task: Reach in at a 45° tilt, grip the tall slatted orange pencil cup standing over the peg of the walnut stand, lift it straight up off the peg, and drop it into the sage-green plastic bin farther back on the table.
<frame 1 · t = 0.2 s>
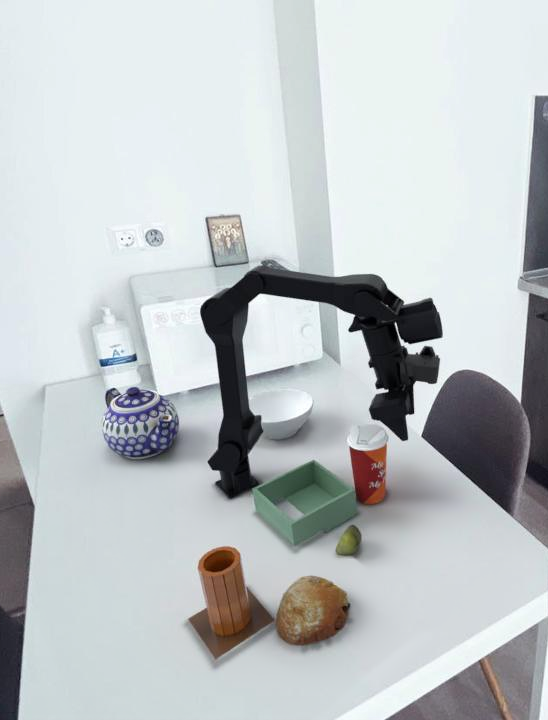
hand: (408, 426, 98), 15 cm above the table, tool pointing down, fingers open, 9 cm apart
bread roll: (314, 620, 79), on the table
stand: (232, 624, 78), on the table
teapot: (147, 447, 121), on the table
slatted orange pencil cup: (231, 619, 78), point 1 cm above the table, touching stand
paper cup: (370, 495, 105), on the table
lime: (349, 551, 91), on the table
bowl: (281, 431, 127), on the table
bin: (306, 513, 100), on the table
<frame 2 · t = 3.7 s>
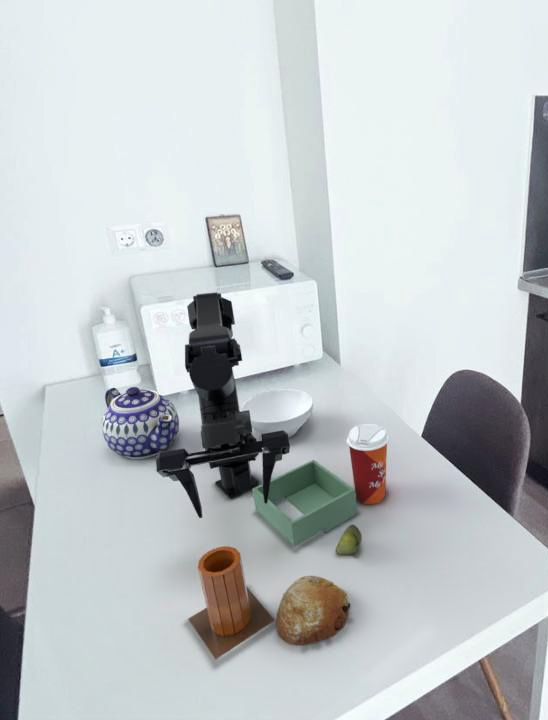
hand: (233, 510, 80), 14 cm above the table, tool tilted 45°, fingers open, 9 cm apart
nothing on the table moved.
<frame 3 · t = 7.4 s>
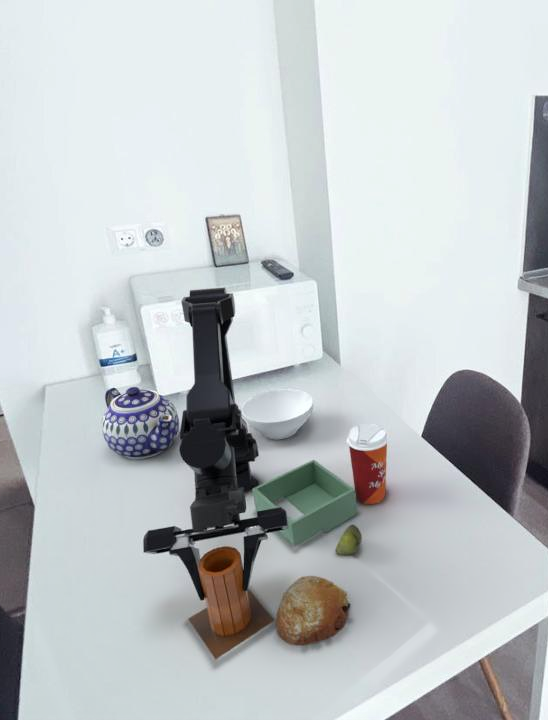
hand: (224, 595, 74), 7 cm above the table, tool tilted 45°, fingers closed on slatted orange pencil cup, 5 cm apart
slatted orange pencil cup: (231, 619, 78), point 1 cm above the table, touching gripper, stand
everything else where it was.
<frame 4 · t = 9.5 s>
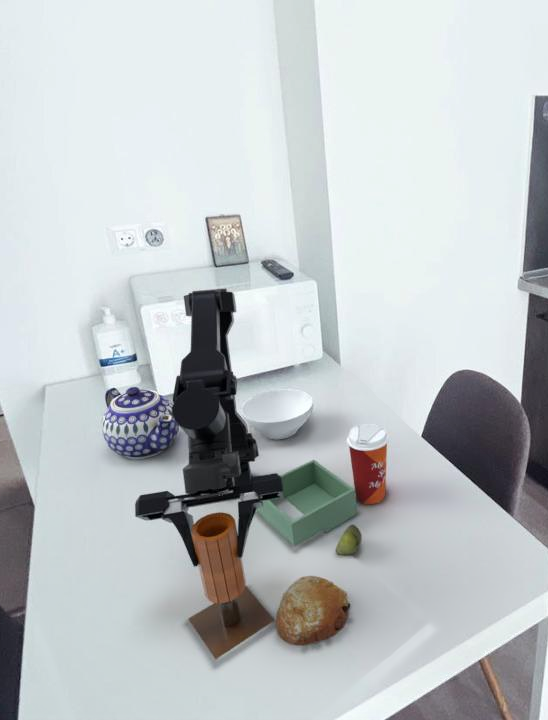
hand: (218, 561, 72), 13 cm above the table, tool tilted 45°, fingers closed on slatted orange pencil cup, 5 cm apart
slatted orange pencil cup: (225, 587, 76), point 6 cm above the table, touching gripper
everything else where it was.
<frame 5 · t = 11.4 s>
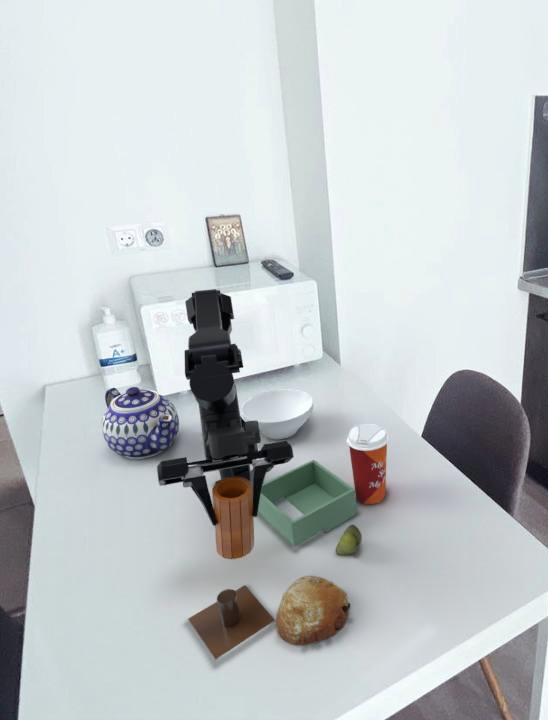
hand: (235, 521, 79), 13 cm above the table, tool tilted 40°, fingers closed on slatted orange pencil cup, 5 cm apart
slatted orange pencil cup: (235, 545, 83), point 7 cm above the table, tilted 7°, touching gripper
everything else where it was.
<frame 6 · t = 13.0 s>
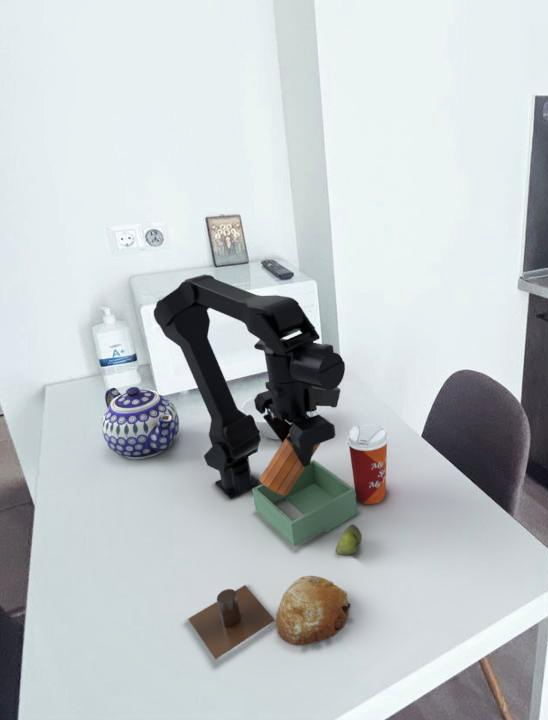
hand: (299, 458, 94), 13 cm above the table, tool pointing down, fingers closed on slatted orange pencil cup, 5 cm apart
slatted orange pencil cup: (273, 486, 92), point 9 cm above the table, tilted 44°, touching gripper
everything else where it was.
when the fingers open (8 cm above the table, at t = 15.5 s): slatted orange pencil cup drops 2 cm and tips over, resting on bin.
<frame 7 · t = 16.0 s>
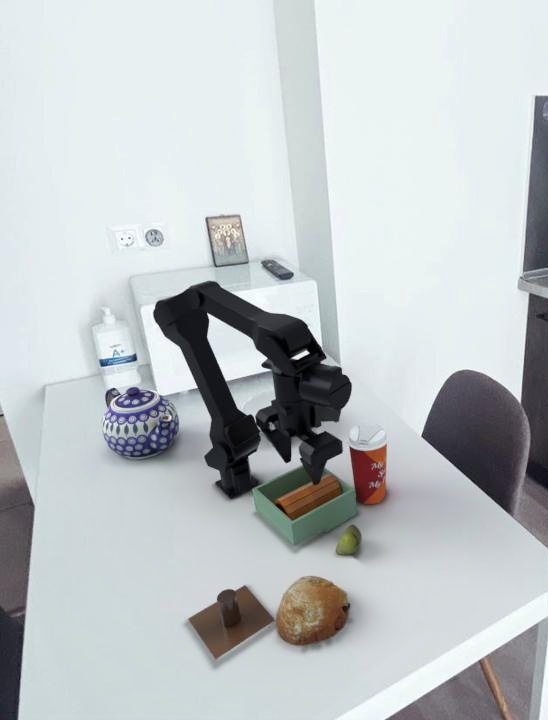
hand: (301, 472, 96), 9 cm above the table, tool pointing down, fingers open, 9 cm apart
slatted orange pencil cup: (281, 514, 95), point 3 cm above the table, tilted 90°, touching bin
everything else where it was.
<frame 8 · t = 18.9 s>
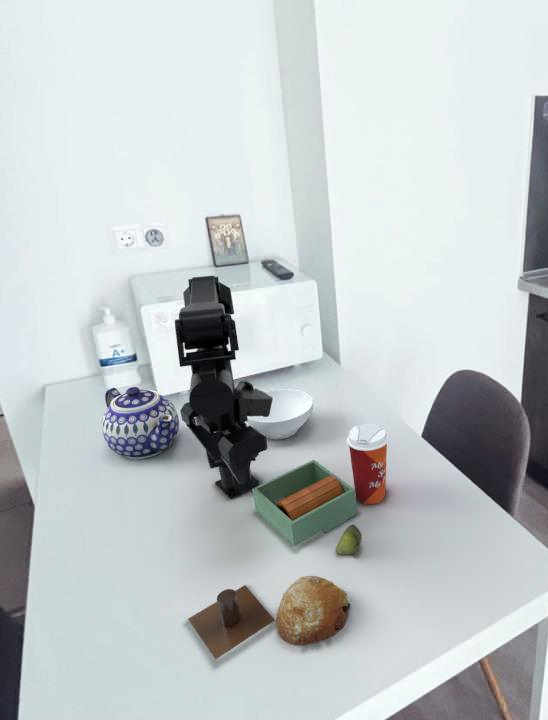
hand: (229, 470, 91), 13 cm above the table, tool pointing down, fingers open, 9 cm apart
nothing on the table moved.
at the end: slatted orange pencil cup inside the target area in the bin (5.4 cm from its centre), point 3.3 cm above the bin's base; slatted orange pencil cup touching bin; the gripper is holding nothing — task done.
